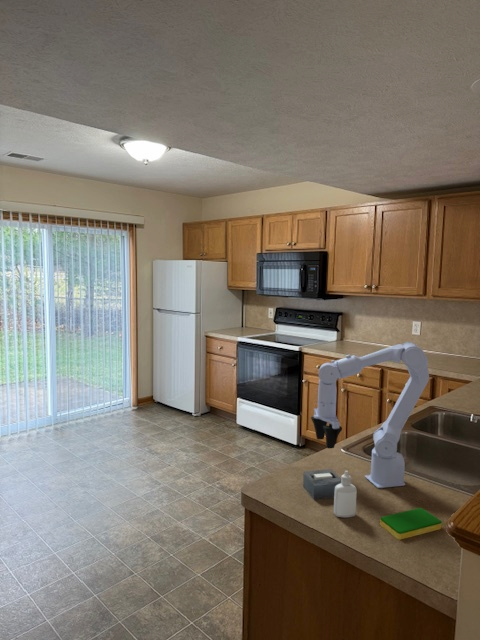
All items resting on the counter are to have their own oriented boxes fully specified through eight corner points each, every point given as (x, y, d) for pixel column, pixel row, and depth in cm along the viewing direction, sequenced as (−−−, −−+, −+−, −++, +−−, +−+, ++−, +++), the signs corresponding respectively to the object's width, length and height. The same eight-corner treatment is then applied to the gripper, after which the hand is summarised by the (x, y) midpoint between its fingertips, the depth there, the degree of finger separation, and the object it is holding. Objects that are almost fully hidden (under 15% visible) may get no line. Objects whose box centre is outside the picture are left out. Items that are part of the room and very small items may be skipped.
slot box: (330, 483, 135) (331, 469, 134) (342, 496, 127) (343, 480, 126) (303, 486, 132) (303, 471, 132) (313, 499, 125) (314, 483, 124)
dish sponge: (379, 525, 113) (379, 517, 113) (420, 515, 118) (421, 507, 118) (398, 541, 106) (399, 532, 106) (441, 530, 112) (442, 521, 111)
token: (328, 489, 131) (329, 473, 131) (331, 492, 129) (332, 475, 129) (313, 490, 130) (313, 474, 130) (315, 493, 128) (316, 477, 128)
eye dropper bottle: (353, 521, 114) (356, 476, 113) (332, 516, 116) (334, 472, 115) (356, 512, 118) (358, 469, 117) (335, 508, 120) (337, 465, 119)
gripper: (306, 395, 144) (304, 435, 146) (324, 408, 130) (323, 453, 132) (326, 394, 146) (324, 434, 147) (346, 407, 132) (344, 451, 133)
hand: (325, 443), depth 140 cm, fingers open, 7 cm apart
